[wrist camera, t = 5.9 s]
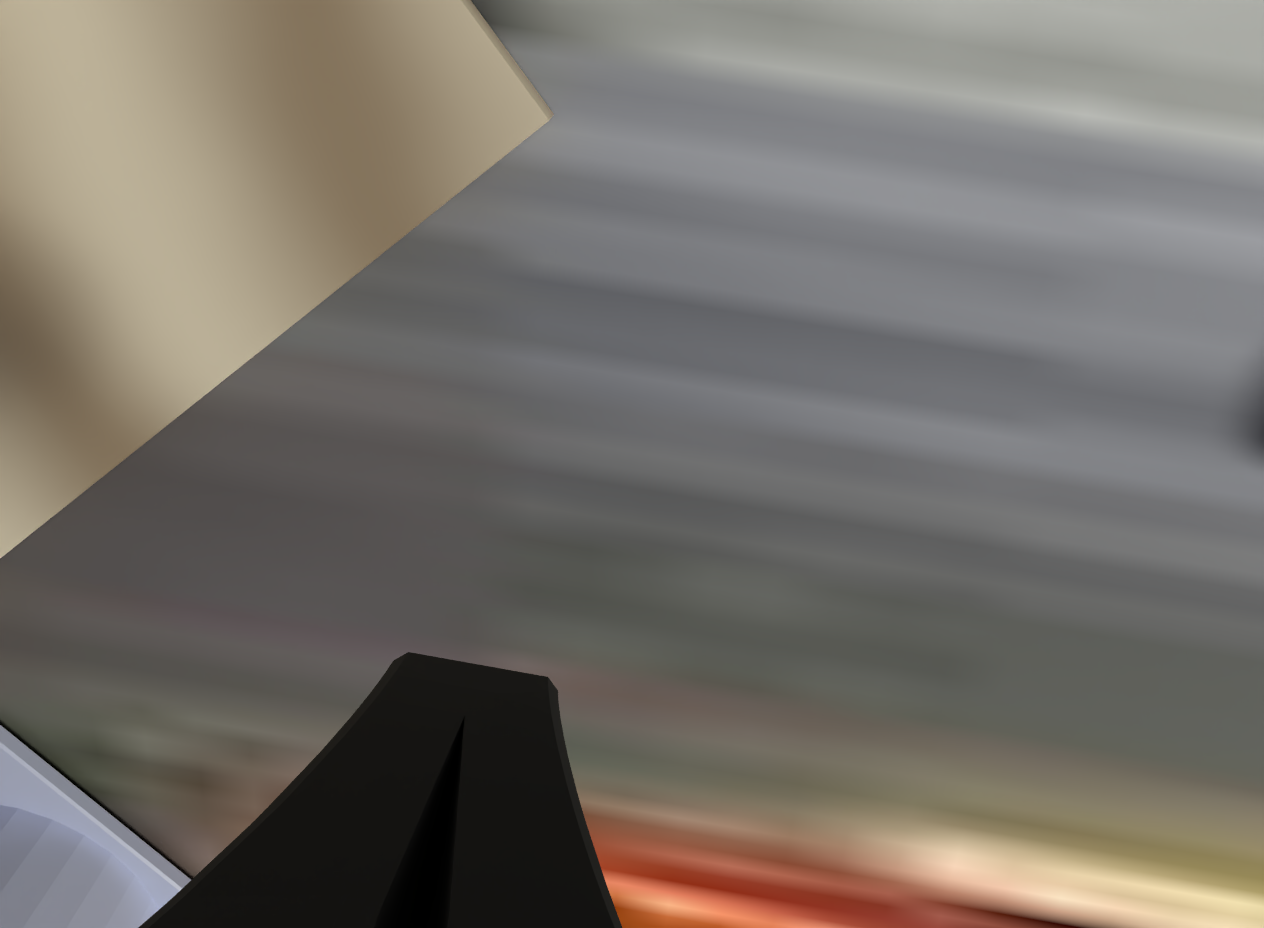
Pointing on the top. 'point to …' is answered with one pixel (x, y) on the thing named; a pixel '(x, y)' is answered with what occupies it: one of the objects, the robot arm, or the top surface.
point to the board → (208, 196)
